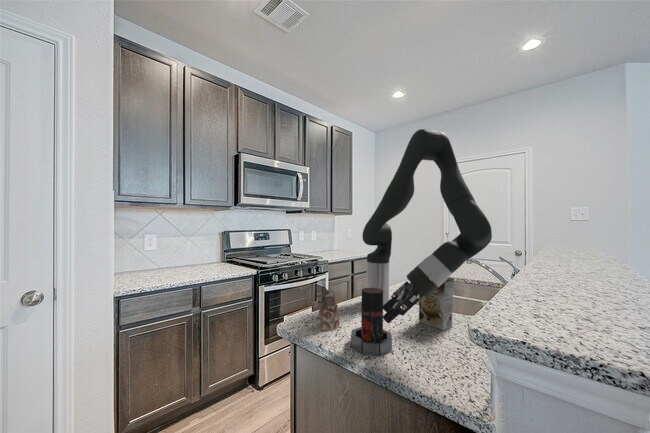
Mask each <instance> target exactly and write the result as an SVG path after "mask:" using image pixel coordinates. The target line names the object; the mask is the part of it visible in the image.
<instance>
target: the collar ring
mask: <svg viewBox="0 0 650 433" xmlns="http://www.w3.org/2000/svg"><path fill="white" fill-rule="evenodd" d="M350 334H351V335H350V348H351V349H353V350H355V351H356V352H358V353H359V354H362V355H367V356H368V355H370V356H378V357H379V356H382V355H386V354H388V353H391V352H392V351H393V337H392V333H391V332H390V331H388V330H387V329H384V328H383V340H382V341H379V342H373V341H364V340H362V339H361V327H357V328H353V329H351V333H350Z"/></svg>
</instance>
